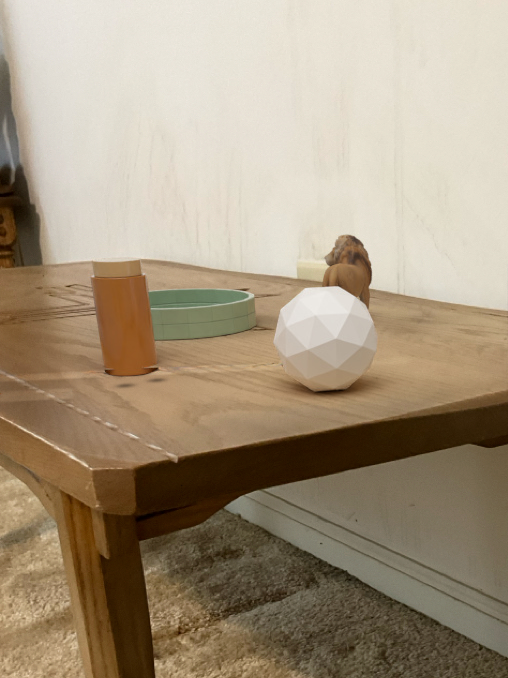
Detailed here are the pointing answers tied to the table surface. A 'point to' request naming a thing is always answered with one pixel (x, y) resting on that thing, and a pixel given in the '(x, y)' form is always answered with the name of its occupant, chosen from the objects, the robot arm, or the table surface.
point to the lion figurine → (349, 268)
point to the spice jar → (124, 316)
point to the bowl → (201, 312)
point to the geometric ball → (325, 338)
